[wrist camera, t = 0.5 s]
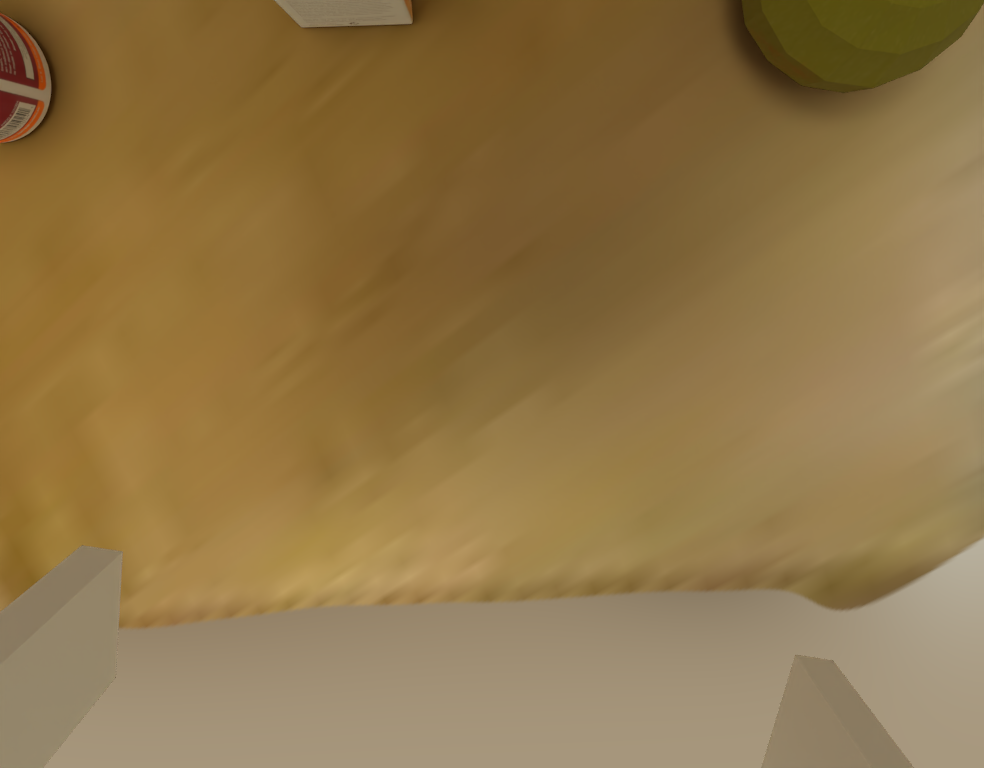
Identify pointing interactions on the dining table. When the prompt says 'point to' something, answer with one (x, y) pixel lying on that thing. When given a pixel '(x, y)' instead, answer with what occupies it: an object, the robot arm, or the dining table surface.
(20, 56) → the pill bottle
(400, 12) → the small box
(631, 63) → the dining table surface
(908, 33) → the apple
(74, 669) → the robot arm
